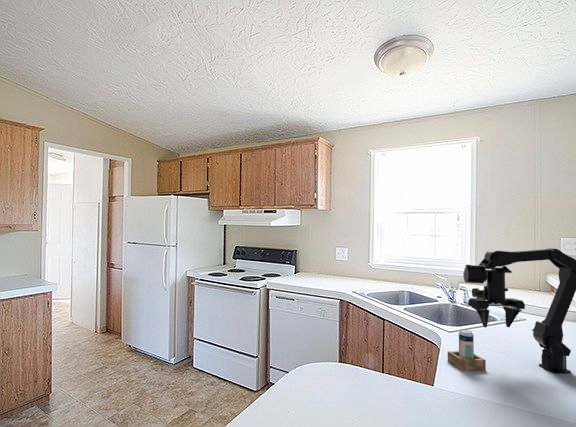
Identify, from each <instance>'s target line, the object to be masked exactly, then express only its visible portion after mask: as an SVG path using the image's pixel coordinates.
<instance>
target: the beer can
mask: <svg viewBox="0 0 576 427" xmlns="http://www.w3.org/2000/svg"><path fill="white" fill-rule="evenodd" d="M474 336H475V335H474V333H473V332H472V330H467V329H459V331H458V351H459V357H460V358H462V359H474V354H475V352H474V351H475V350H474V349H475V348H474V347H475V346H474V344H475V343H474V339H475V338H474Z"/></svg>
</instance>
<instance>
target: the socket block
mask: <svg viewBox="0 0 576 427" xmlns="http://www.w3.org/2000/svg"><path fill="white" fill-rule="evenodd" d="M447 362H448V363H450V364H451V365H453V366H454V367H456V368H457V369H459V370H461V371H462V372H470V371H471V372H472V371H473V372H474V371H475V372H476V371H487V370H486V367H487V366H486V364H487V363H486V362H487V361H486V359H485V358H483V357H481V356H479V355H478V354H476V353H474V359H462V358H460V357H459V350H453V351H452V350H451V351H447Z"/></svg>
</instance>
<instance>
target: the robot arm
mask: <svg viewBox="0 0 576 427" xmlns="http://www.w3.org/2000/svg"><path fill="white" fill-rule="evenodd" d="M538 261H550V262H551V263H552V265H554V266H555V267H557V268H558V269H559V270H558V280H559V284H558V287H557V288H556V291H555V294H554V296H553V298H552V300H551V303H550V306H549V309H548V312H547V314H546V316H545V319H544V320H542V321H541V322H540V321H538V320H536V321H535V324H534V328H532V329H531V331H532V332H533V333H532V337H533V338H534V340H535V341H536V342H537V343H538V346H539V347H540V348H542V350H541V363H539V364H538V366H539V367H541V368H542V369H543V368H544V369H545V370H548V371H550V372H552V373H555V374H563V373H566V374H568V373H572V371H571V370H570V369H567V357H570V354H571V353H572V350H571V349H570V348H569V347H568V346H567V345H566V344H564V343H563V340H564V331H563V324H564V321H565V319H566V317H567V314H568V311H569V309H570V307H571V304H572V302H573V299H574V296H575V294H576V258H574V257H572V256H569V255H568V254H566V253H564V252H562V251H561V250H560V249H558V248H553V247H552V248H550V247H547V248H544V249H543V248H542V249H530V250H519V251H518V250H517V251H516V250H515V251H509V250H508V251H506V250H493V249H490V250H487V251H486V252H485V254H484V257H483V259H481V262H479V264H478V265H475V264H474V265H472V264H465V267H464V270H463V281H464V282H465V283H466V284H481V285H482V284H485V283H486V285H484V286H483V289H479V288H478V287H476V288H475V287H474V288H472V289H471V296H472V298H471V297H470V298H469V299H468V301H467V306H469V307H471V309H474V310H475V311H476V312H477V314H478V316H479V319H480V322H481V324H482V327H483V328H488V322H489V316H490V309H488V308H489V307H502V308H503V310H504V313H505V314H504V315H505V327H507V328H510V327H511V325H512V324H513V322H514V320H515V319H516V317H517V316H518V315H519V313H520V312H522V311H523V310H525V309H526V303H525V302H524V301H523V300H521V299H516V298H511V297H510V298H509V297H507V298H506V292H509V288H507V287H506V274H512V273H513V271H512V270H511V269H510V268H508V266H509V265H512V264H515V263H521V262H538Z"/></svg>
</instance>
